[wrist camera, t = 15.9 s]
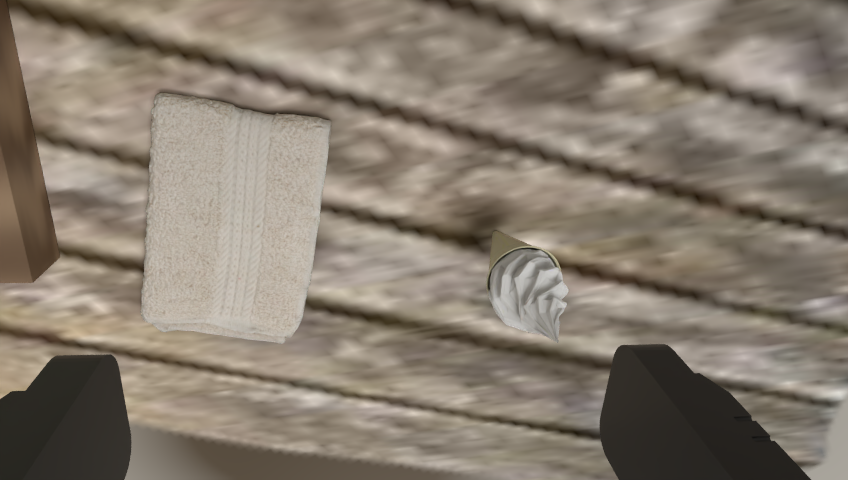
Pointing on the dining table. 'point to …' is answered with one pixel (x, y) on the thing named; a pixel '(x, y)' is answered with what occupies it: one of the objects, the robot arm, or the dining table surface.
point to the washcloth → (231, 217)
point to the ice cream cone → (525, 286)
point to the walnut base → (20, 176)
